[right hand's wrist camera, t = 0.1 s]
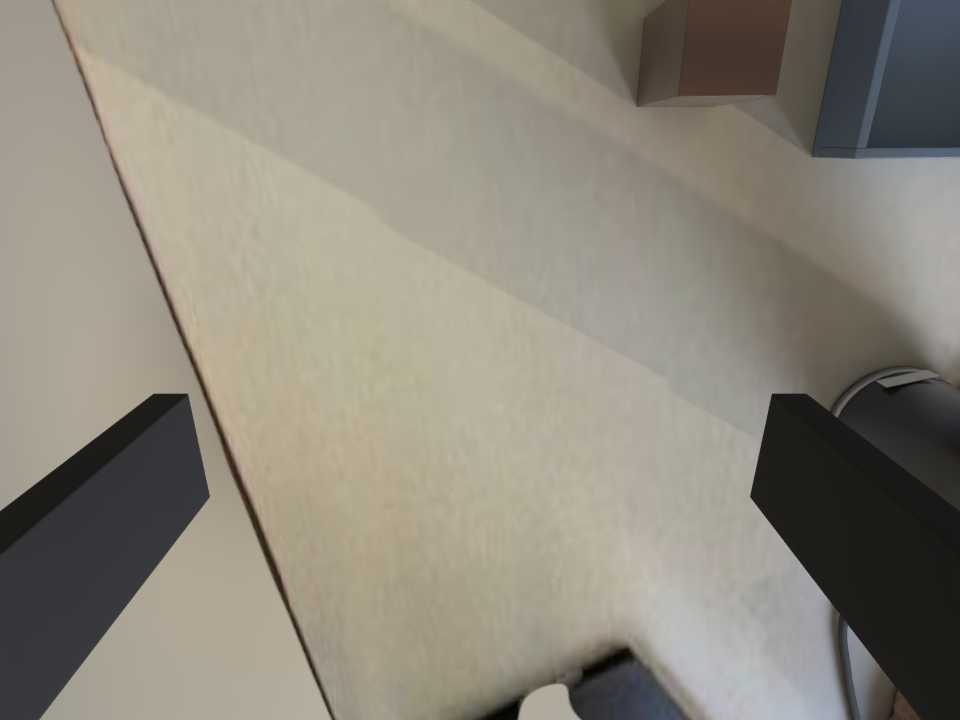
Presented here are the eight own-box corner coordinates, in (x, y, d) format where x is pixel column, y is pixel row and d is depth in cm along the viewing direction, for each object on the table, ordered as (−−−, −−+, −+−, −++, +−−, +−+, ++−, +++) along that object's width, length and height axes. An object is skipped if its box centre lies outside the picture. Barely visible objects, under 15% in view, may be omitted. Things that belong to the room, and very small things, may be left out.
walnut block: (644, 17, 34) (690, -19, 26) (726, 16, 34) (796, -20, 26) (636, 107, 35) (677, 97, 28) (713, 106, 35) (776, 96, 28)
